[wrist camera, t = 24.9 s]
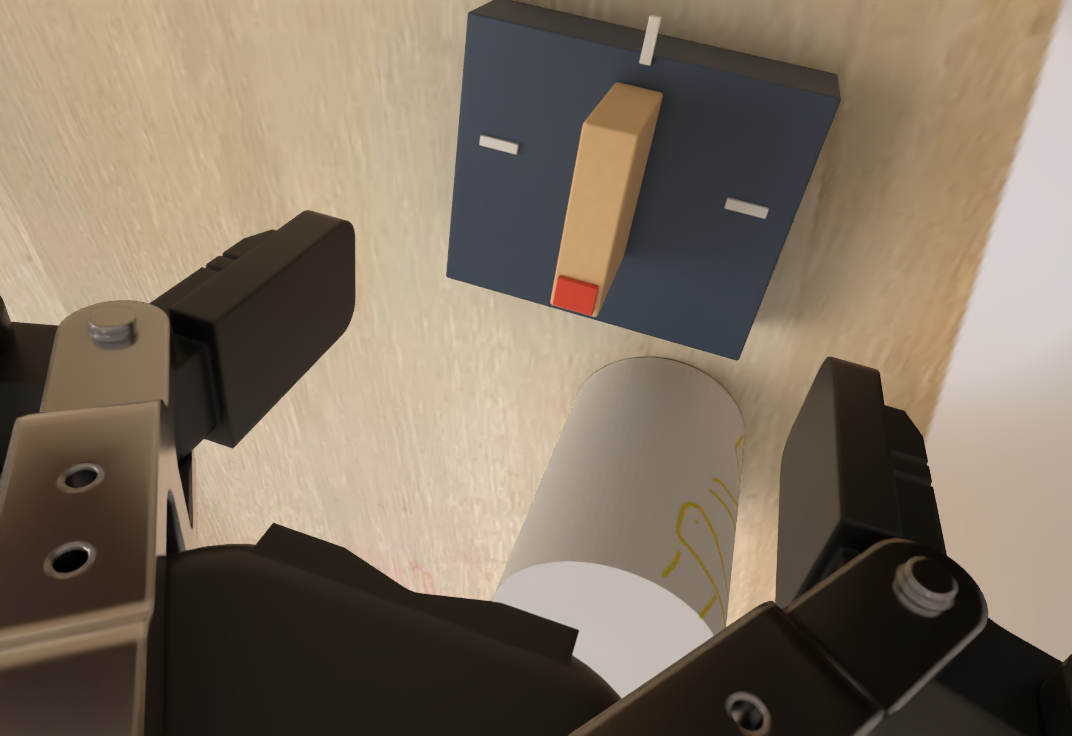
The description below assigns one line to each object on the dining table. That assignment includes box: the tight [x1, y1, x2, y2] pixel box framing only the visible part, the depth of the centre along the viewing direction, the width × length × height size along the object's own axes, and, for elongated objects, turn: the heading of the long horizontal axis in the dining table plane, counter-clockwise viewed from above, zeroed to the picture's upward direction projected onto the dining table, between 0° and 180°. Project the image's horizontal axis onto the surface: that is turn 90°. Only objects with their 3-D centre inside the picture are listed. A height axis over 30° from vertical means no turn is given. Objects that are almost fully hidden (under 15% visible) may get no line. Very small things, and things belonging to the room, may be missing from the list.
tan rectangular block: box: [550, 82, 663, 317], centre depth 24 cm, size 6×2×5 cm, turn 171°
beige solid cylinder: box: [492, 357, 745, 698], centre depth 30 cm, size 8×8×12 cm
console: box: [446, 0, 841, 360], centre depth 27 cm, size 12×11×3 cm
